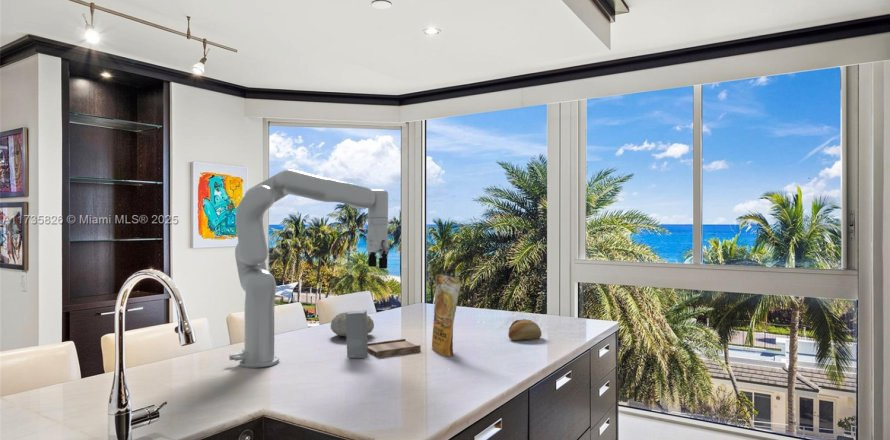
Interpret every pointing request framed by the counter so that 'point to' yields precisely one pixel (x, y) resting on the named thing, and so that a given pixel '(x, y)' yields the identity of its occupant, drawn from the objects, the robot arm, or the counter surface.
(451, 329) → the pancake mix bag
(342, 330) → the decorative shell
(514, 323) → the bread roll
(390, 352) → the light brown wooden tray
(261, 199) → the robot arm
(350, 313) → the skincare box
